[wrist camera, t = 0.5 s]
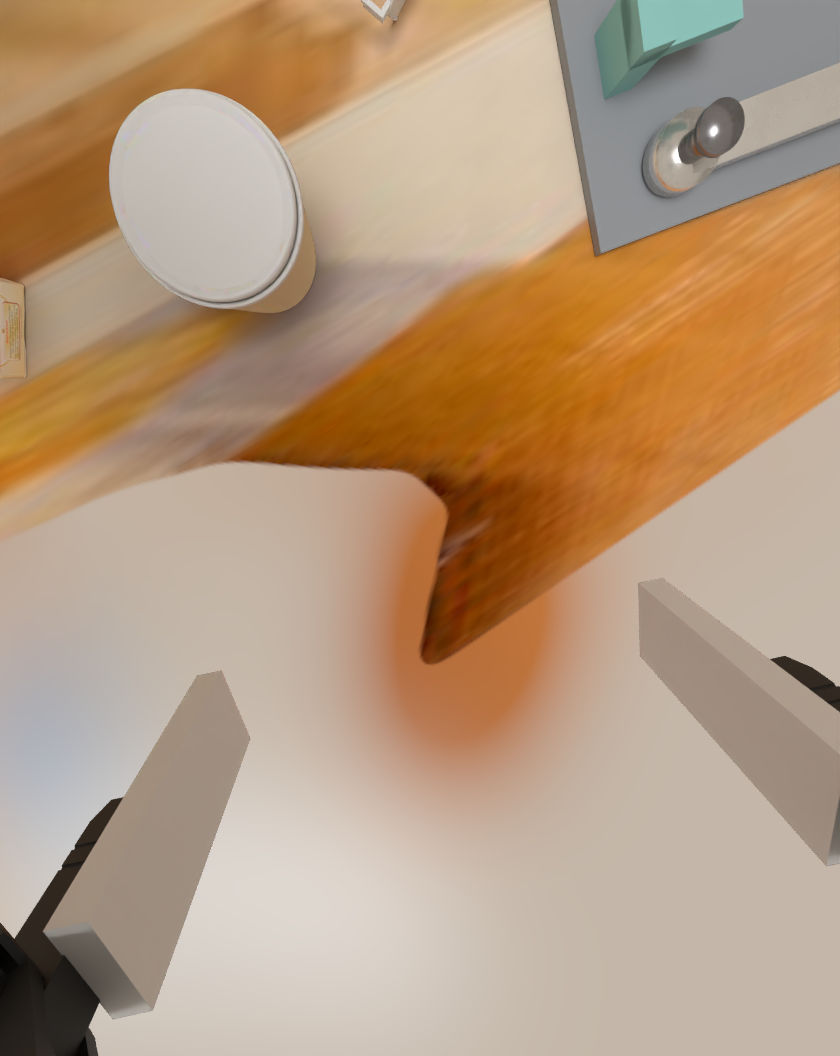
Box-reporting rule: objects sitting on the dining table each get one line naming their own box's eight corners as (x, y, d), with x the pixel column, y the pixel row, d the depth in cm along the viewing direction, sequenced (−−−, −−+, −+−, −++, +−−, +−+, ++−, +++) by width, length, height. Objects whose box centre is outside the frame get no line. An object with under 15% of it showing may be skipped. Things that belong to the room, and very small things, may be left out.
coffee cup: (201, 164, 31) (98, 50, 20) (336, 200, 32) (311, 113, 21) (195, 309, 34) (103, 282, 23) (319, 337, 35) (289, 325, 24)
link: (647, 206, 33) (691, 180, 28) (638, 136, 31) (683, 95, 27) (871, 121, 32) (955, 79, 27) (873, 44, 31) (961, -14, 26)
